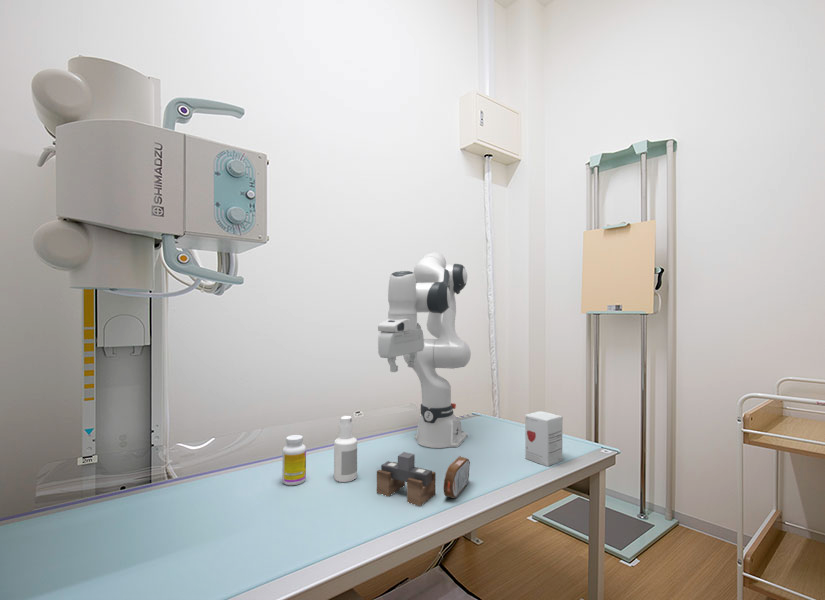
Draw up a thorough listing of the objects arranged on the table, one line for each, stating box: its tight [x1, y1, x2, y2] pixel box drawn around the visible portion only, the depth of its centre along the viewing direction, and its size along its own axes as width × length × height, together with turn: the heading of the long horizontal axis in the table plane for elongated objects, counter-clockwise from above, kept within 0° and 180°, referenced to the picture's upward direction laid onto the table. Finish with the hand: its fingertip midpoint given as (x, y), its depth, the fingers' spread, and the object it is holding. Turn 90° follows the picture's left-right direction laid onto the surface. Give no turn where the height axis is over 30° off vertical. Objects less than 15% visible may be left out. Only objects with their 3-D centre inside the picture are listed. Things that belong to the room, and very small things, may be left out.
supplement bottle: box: [281, 434, 307, 486], centre depth 120 cm, size 7×7×13 cm
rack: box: [376, 461, 437, 507], centre depth 112 cm, size 8×14×6 cm, turn 57°
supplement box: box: [524, 410, 563, 467], centre depth 137 cm, size 9×9×15 cm
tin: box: [443, 456, 471, 499], centre depth 114 cm, size 15×3×8 cm, turn 154°
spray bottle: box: [333, 415, 358, 483], centre depth 123 cm, size 7×7×18 cm
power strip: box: [380, 451, 433, 487], centre depth 112 cm, size 4×14×6 cm, turn 61°
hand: (402, 369), depth 125 cm, fingers open, 8 cm apart
